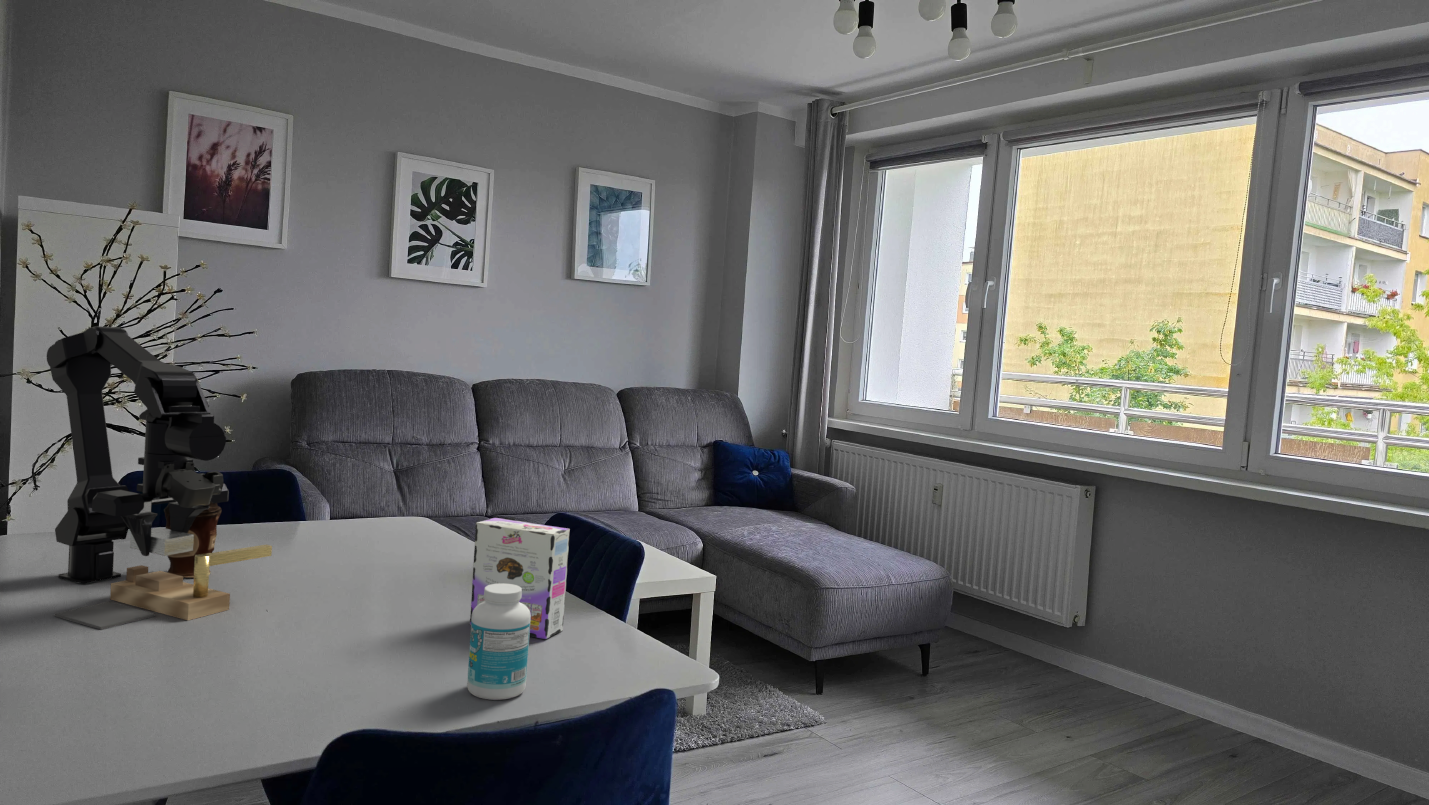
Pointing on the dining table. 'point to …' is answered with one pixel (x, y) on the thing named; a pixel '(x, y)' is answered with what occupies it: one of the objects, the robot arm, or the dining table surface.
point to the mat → (104, 615)
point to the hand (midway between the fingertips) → (161, 552)
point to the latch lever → (222, 558)
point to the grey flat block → (167, 542)
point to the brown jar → (195, 540)
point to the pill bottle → (499, 644)
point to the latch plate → (166, 594)
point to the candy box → (524, 568)
